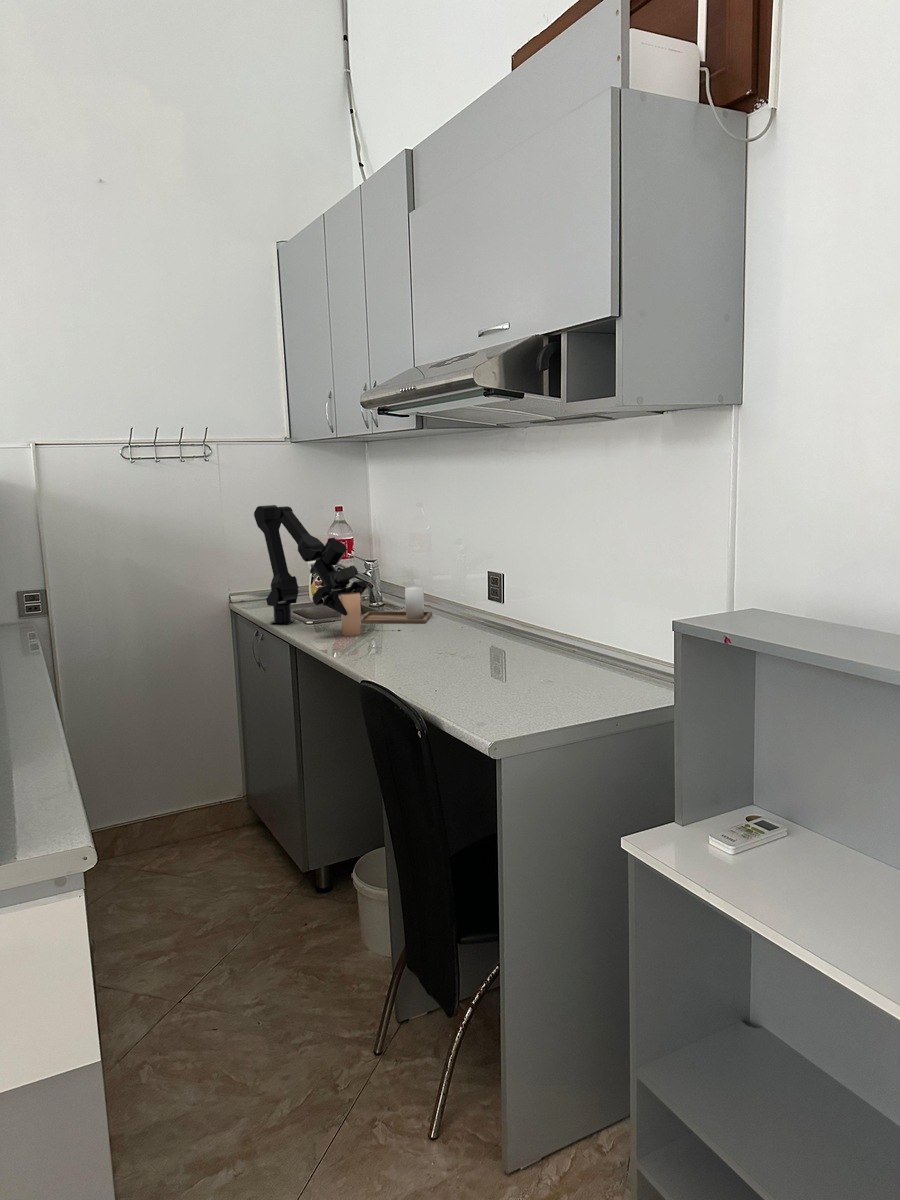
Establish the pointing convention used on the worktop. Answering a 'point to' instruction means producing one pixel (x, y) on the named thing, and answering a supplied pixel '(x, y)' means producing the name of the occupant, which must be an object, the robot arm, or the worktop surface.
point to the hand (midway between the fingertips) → (354, 613)
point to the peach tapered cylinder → (351, 614)
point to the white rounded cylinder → (414, 602)
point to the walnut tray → (392, 618)
